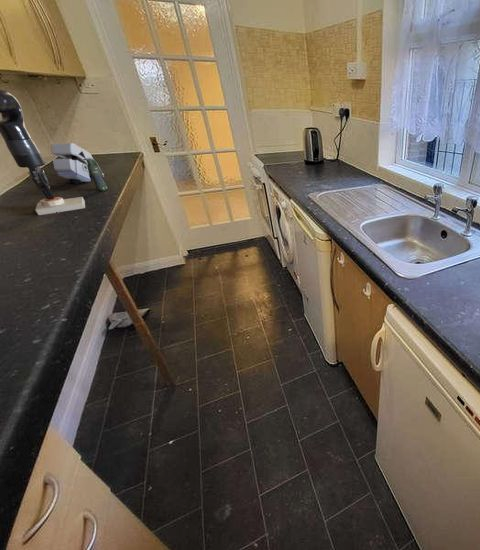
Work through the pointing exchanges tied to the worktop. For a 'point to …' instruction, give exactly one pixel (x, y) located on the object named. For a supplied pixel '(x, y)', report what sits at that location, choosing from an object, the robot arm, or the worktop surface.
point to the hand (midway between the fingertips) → (51, 198)
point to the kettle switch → (51, 199)
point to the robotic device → (71, 162)
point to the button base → (59, 205)
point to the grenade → (96, 174)
